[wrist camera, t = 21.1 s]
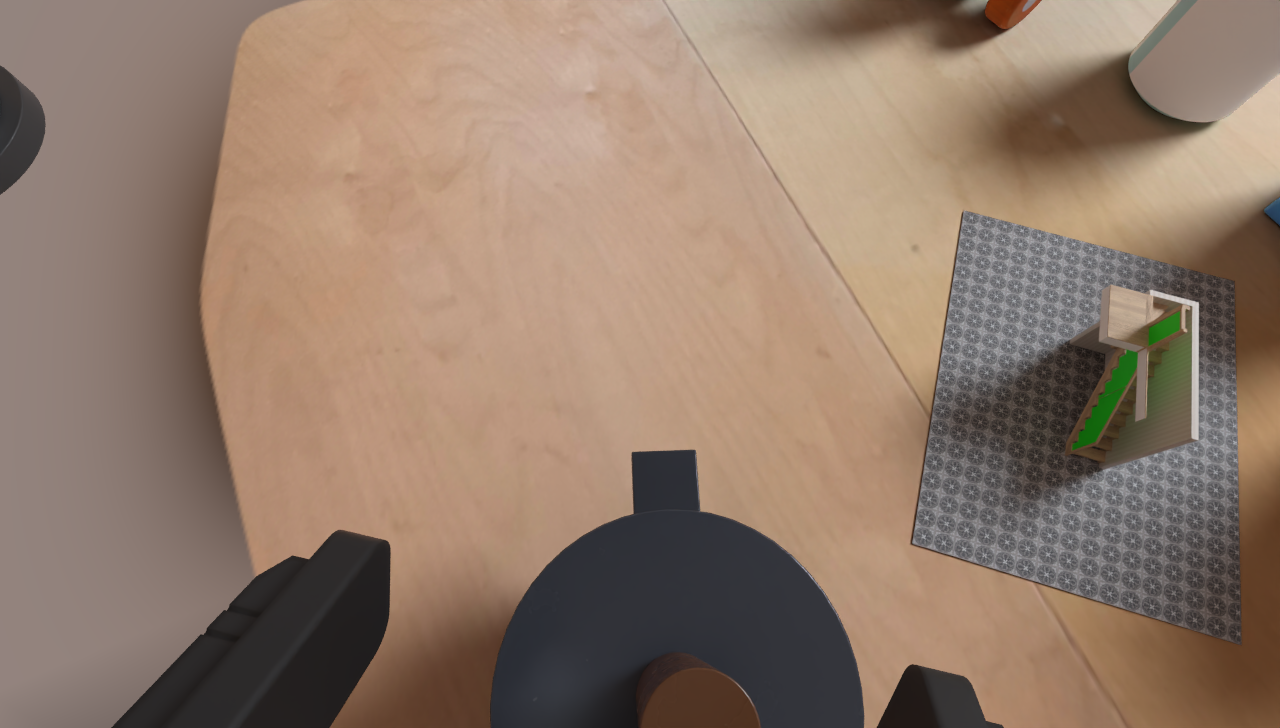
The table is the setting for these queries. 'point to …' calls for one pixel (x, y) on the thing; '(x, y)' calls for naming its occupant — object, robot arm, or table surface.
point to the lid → (675, 634)
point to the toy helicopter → (1009, 11)
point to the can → (1207, 57)
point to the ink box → (1274, 211)
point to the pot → (665, 480)
